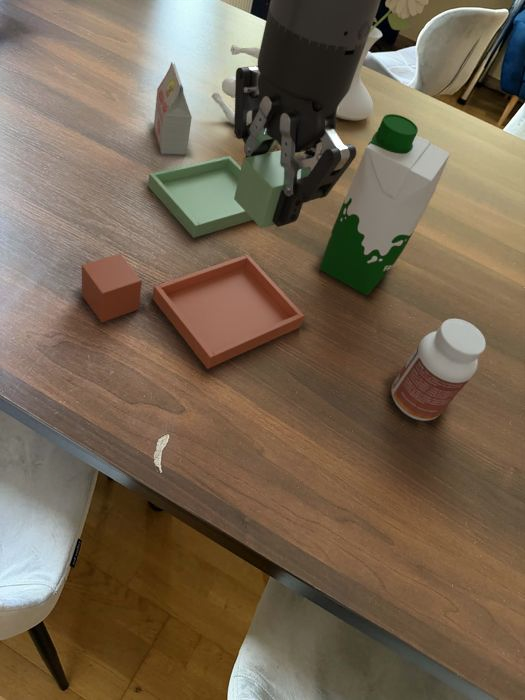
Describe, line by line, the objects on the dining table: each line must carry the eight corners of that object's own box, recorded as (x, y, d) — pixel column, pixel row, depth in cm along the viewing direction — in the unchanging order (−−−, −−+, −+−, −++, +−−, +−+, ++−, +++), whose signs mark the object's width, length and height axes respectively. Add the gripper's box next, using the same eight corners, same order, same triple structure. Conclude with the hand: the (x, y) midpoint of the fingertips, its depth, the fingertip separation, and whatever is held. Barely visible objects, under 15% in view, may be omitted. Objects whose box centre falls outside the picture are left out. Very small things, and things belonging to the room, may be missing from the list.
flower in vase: (305, 114, 99) (356, -51, 81) (313, 85, 107) (361, -72, 88) (377, 137, 100) (443, -21, 81) (379, 107, 108) (441, -44, 89)
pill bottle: (447, 425, 63) (501, 364, 55) (395, 420, 62) (442, 357, 53) (434, 379, 67) (483, 316, 59) (385, 374, 66) (428, 308, 57)
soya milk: (336, 237, 80) (394, 101, 65) (394, 268, 78) (467, 136, 63) (310, 270, 74) (366, 129, 59) (371, 304, 73) (445, 169, 58)
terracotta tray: (207, 369, 60) (210, 357, 59) (152, 298, 65) (153, 285, 63) (300, 327, 67) (305, 315, 66) (244, 265, 72) (248, 253, 70)
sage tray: (193, 238, 73) (195, 225, 71) (147, 186, 77) (149, 173, 76) (273, 213, 80) (276, 202, 78) (227, 167, 84) (229, 155, 83)
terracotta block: (101, 323, 61) (102, 293, 58) (81, 294, 63) (81, 264, 59) (139, 309, 63) (142, 280, 60) (118, 282, 65) (120, 253, 62)
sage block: (260, 228, 53) (272, 187, 49) (233, 199, 55) (243, 157, 51) (297, 217, 55) (311, 178, 52) (270, 189, 57) (281, 149, 54)
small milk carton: (178, 128, 88) (186, 63, 80) (186, 154, 84) (195, 88, 76) (153, 126, 86) (159, 60, 79) (161, 153, 82) (168, 86, 75)
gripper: (223, -27, 43) (193, 170, 56) (346, 71, 37) (280, 265, 50) (299, -27, 47) (254, 156, 60) (421, 61, 41) (342, 244, 54)
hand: (266, 205), depth 55 cm, fingers closed on sage block, 4 cm apart
